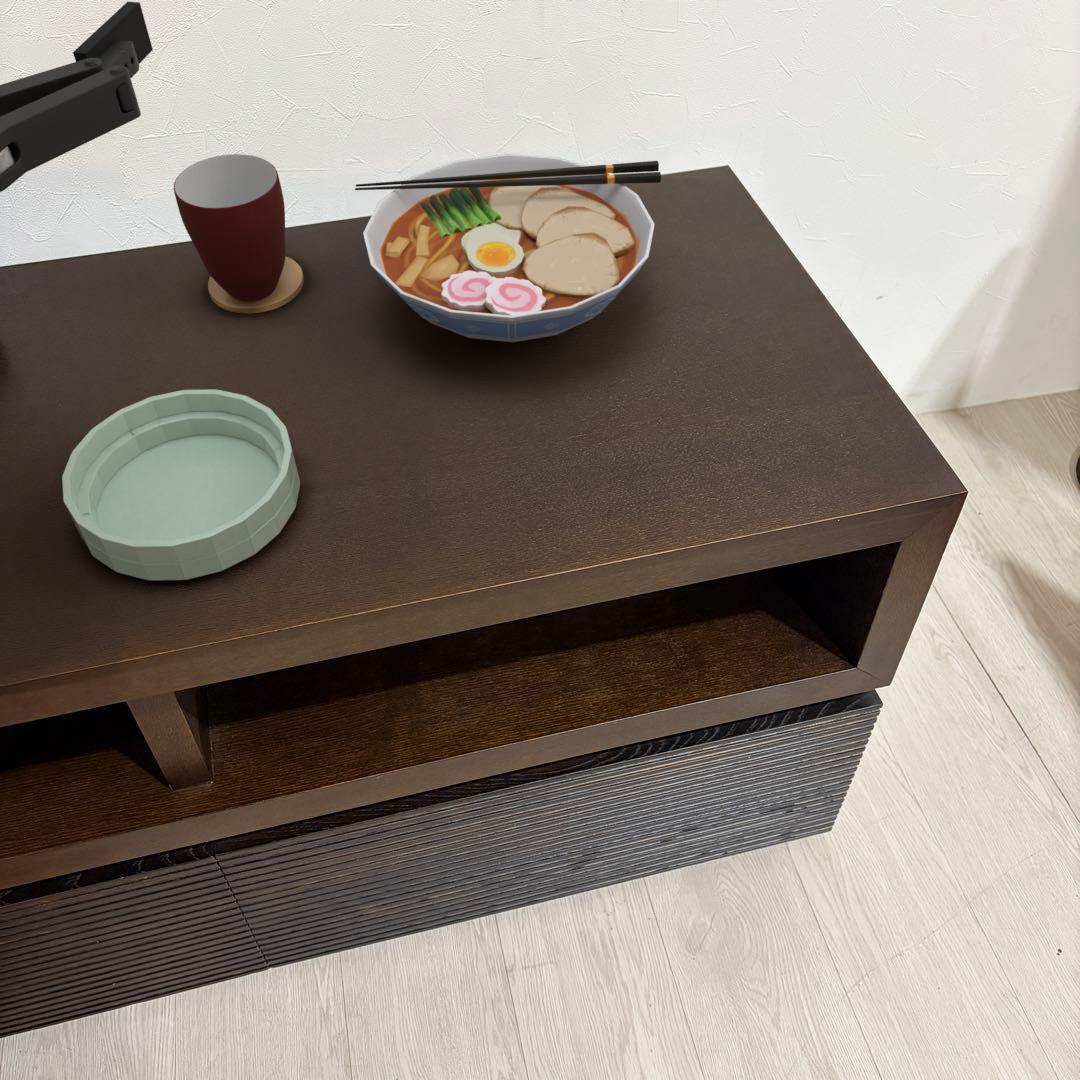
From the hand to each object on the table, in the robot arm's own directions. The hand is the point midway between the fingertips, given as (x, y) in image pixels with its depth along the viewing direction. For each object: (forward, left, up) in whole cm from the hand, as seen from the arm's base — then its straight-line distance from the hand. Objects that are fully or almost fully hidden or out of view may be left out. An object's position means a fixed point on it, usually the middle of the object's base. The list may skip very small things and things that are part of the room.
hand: (33, 16), depth 64 cm
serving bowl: (+10, -9, -28) cm, 31 cm away
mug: (-1, +14, -28) cm, 31 cm away
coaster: (-1, +14, -28) cm, 31 cm away
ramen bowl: (+20, +21, -28) cm, 40 cm away
